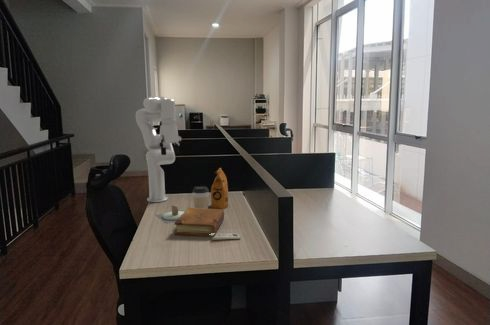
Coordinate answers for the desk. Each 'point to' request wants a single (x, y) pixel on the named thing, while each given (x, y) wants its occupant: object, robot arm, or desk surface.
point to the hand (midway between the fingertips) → (170, 153)
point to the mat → (164, 219)
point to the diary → (199, 221)
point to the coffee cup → (200, 197)
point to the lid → (173, 214)
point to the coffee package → (219, 191)
